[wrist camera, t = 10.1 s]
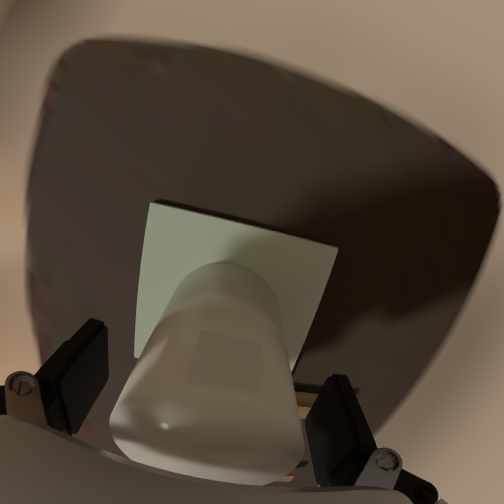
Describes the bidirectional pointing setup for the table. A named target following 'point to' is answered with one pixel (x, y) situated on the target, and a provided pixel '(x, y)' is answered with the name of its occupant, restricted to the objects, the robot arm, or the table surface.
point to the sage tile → (231, 252)
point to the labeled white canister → (214, 384)
